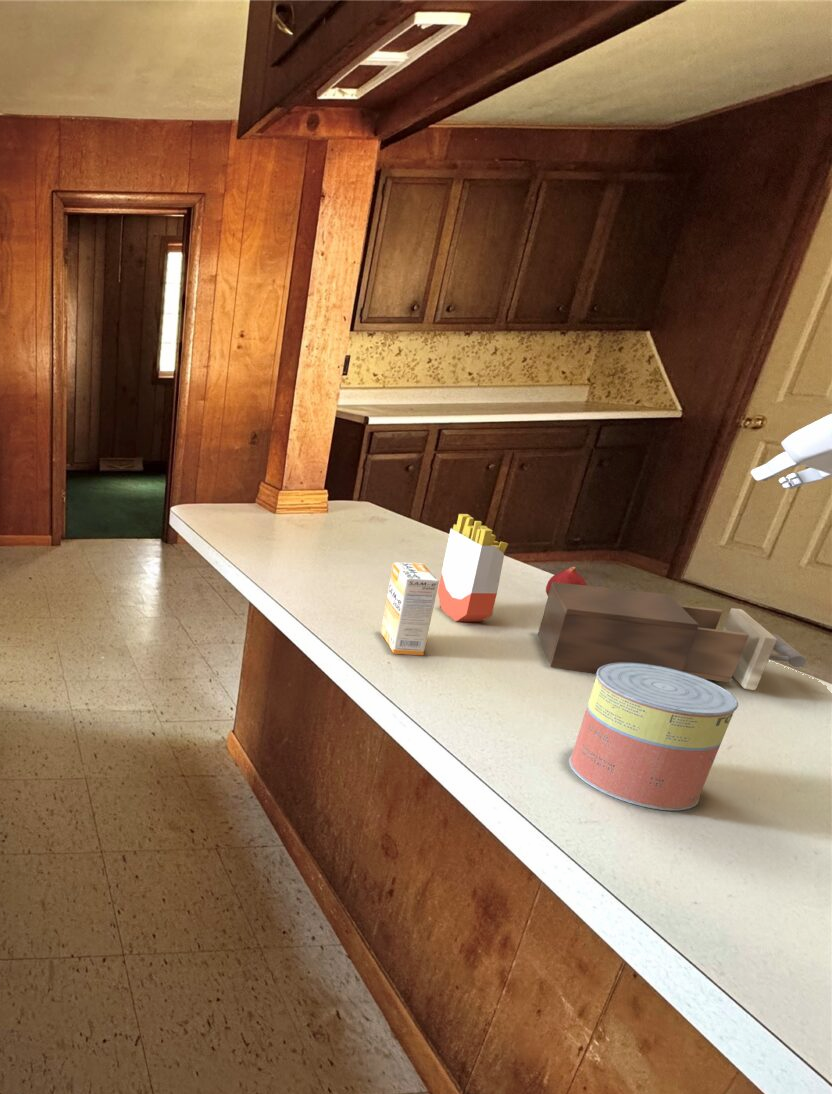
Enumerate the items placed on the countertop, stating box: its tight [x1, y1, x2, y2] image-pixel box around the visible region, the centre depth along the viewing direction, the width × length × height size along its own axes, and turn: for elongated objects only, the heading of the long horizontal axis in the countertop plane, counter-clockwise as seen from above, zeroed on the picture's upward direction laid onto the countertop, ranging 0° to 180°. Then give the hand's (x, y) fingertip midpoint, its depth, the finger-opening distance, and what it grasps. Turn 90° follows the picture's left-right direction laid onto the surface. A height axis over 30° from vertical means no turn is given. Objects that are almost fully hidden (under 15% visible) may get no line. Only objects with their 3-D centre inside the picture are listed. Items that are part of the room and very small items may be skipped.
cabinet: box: [537, 582, 699, 675], centre depth 101 cm, size 15×13×10 cm
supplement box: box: [380, 561, 440, 656], centre depth 107 cm, size 8×5×13 cm, turn 167°
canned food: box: [568, 663, 739, 812], centre depth 73 cm, size 11×11×12 cm
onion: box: [545, 566, 588, 597], centre depth 120 cm, size 6×6×8 cm
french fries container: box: [437, 513, 509, 623], centre depth 116 cm, size 5×11×18 cm, turn 174°
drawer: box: [679, 604, 807, 691], centre depth 96 cm, size 18×11×8 cm, turn 62°
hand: (769, 481), depth 93 cm, fingers open, 8 cm apart
